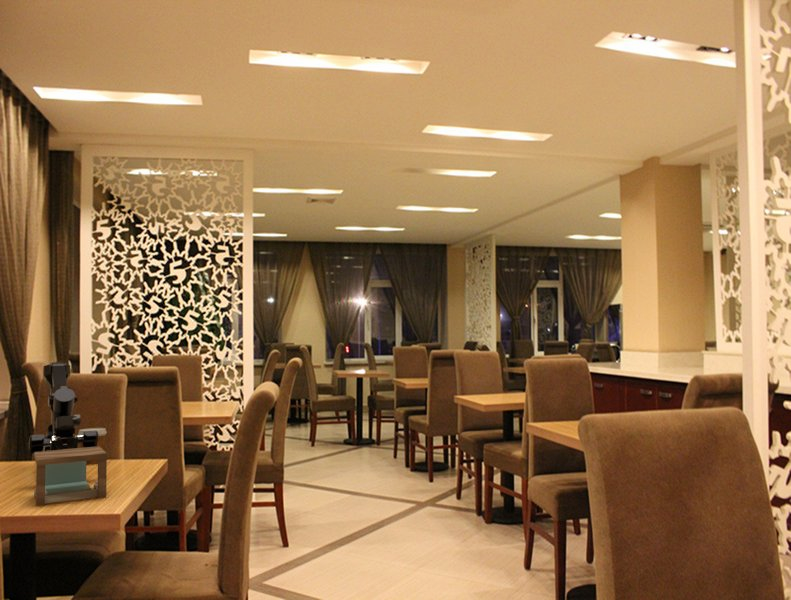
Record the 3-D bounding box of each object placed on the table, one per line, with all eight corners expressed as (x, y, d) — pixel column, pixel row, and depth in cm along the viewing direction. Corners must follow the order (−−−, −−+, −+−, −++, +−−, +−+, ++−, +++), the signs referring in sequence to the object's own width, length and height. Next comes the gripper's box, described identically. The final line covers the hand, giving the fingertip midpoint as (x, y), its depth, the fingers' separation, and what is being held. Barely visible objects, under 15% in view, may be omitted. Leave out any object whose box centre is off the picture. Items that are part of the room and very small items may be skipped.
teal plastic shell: (44, 489, 194) (44, 458, 195) (85, 485, 200) (85, 454, 201) (47, 498, 182) (47, 465, 183) (91, 493, 188) (91, 461, 189)
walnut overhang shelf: (33, 495, 188) (34, 452, 188) (99, 487, 196) (99, 446, 197) (36, 506, 174) (37, 459, 175) (106, 497, 183) (106, 453, 183)
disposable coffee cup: (79, 466, 232) (79, 431, 233) (76, 462, 240) (76, 429, 241) (108, 463, 237) (109, 429, 238) (104, 459, 245) (104, 427, 246)
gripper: (29, 408, 199) (30, 449, 189) (97, 404, 208) (102, 443, 198) (28, 432, 205) (29, 474, 195) (94, 427, 215) (98, 466, 204)
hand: (65, 463), depth 198 cm, fingers closed, pressing on teal plastic shell
